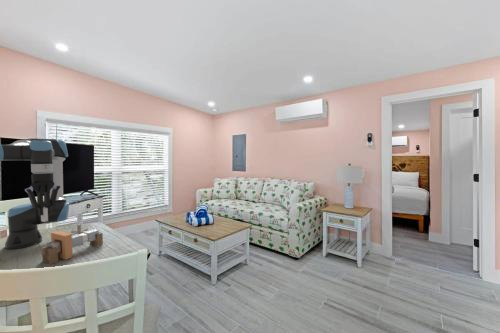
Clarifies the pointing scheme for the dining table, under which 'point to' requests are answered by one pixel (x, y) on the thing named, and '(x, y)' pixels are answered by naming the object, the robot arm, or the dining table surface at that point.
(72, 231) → the pipe connector
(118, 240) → the dining table surface
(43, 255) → the stand
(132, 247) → the dining table surface
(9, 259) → the dining table surface
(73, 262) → the dining table surface
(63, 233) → the peach rectangular loop
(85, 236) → the grey long bar
